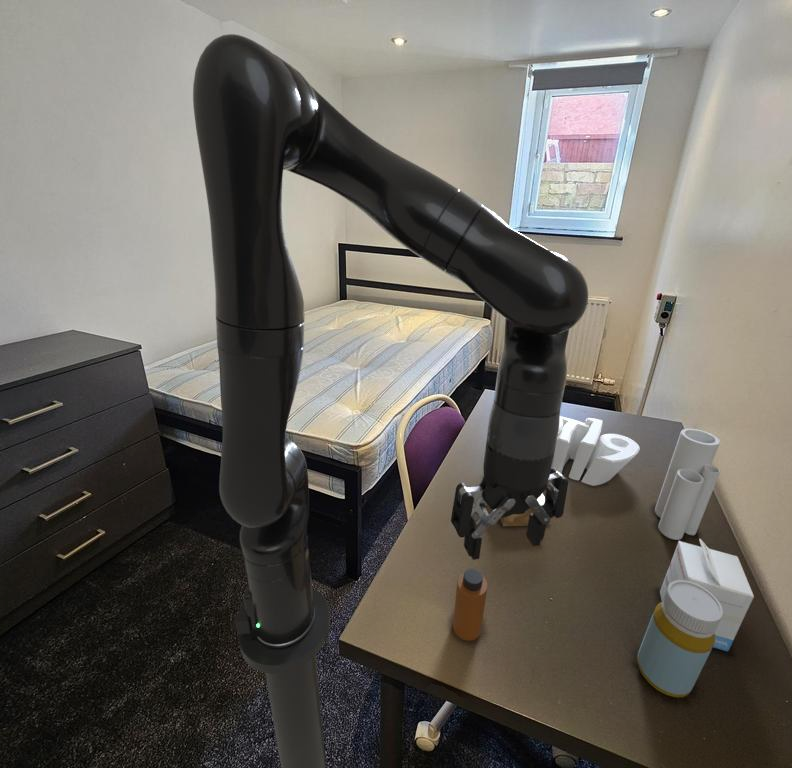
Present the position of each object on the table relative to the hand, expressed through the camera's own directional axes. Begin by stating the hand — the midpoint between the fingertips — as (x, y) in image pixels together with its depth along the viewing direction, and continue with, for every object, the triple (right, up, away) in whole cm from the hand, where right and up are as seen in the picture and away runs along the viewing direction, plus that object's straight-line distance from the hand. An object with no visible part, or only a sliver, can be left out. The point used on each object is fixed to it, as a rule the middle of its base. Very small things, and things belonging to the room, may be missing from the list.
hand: (503, 547), depth 53 cm
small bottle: (-3, -17, +12) cm, 21 cm away
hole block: (+11, -5, +40) cm, 42 cm away
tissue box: (+34, -18, +14) cm, 41 cm away
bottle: (+24, -21, +6) cm, 32 cm away
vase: (+44, -9, +35) cm, 57 cm away
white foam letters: (+27, +1, +57) cm, 63 cm away
